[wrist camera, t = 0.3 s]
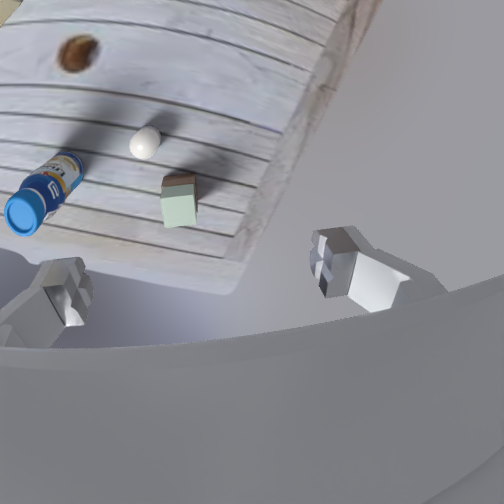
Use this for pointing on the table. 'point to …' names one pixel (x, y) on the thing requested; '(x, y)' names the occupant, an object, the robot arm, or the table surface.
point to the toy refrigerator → (7, 9)
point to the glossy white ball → (145, 142)
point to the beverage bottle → (43, 193)
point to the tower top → (178, 205)
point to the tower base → (181, 183)
